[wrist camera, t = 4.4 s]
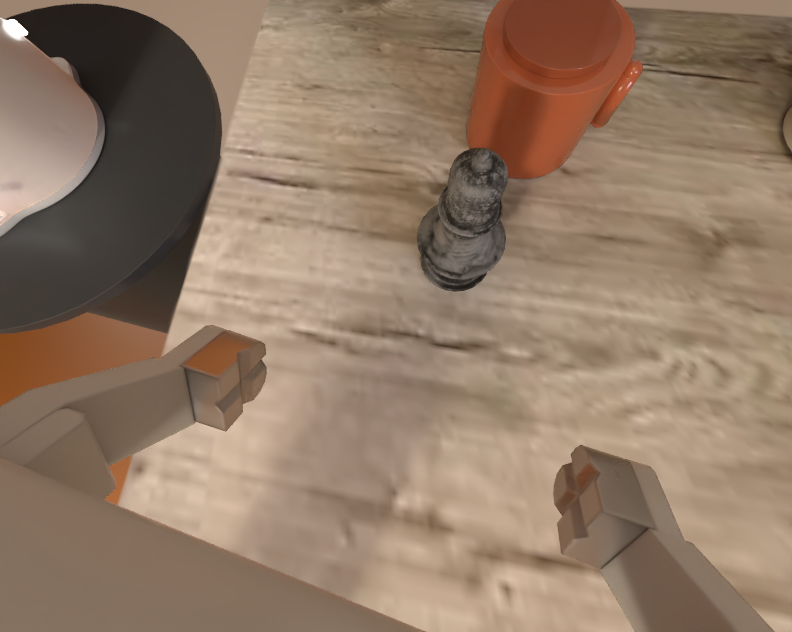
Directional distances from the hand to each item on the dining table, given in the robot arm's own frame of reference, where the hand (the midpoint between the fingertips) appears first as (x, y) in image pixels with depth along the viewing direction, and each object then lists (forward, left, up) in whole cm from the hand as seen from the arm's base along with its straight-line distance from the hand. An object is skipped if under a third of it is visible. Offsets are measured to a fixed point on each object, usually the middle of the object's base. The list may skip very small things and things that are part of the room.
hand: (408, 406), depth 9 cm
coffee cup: (+6, +23, -16) cm, 29 cm away
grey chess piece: (+2, +11, -16) cm, 20 cm away
